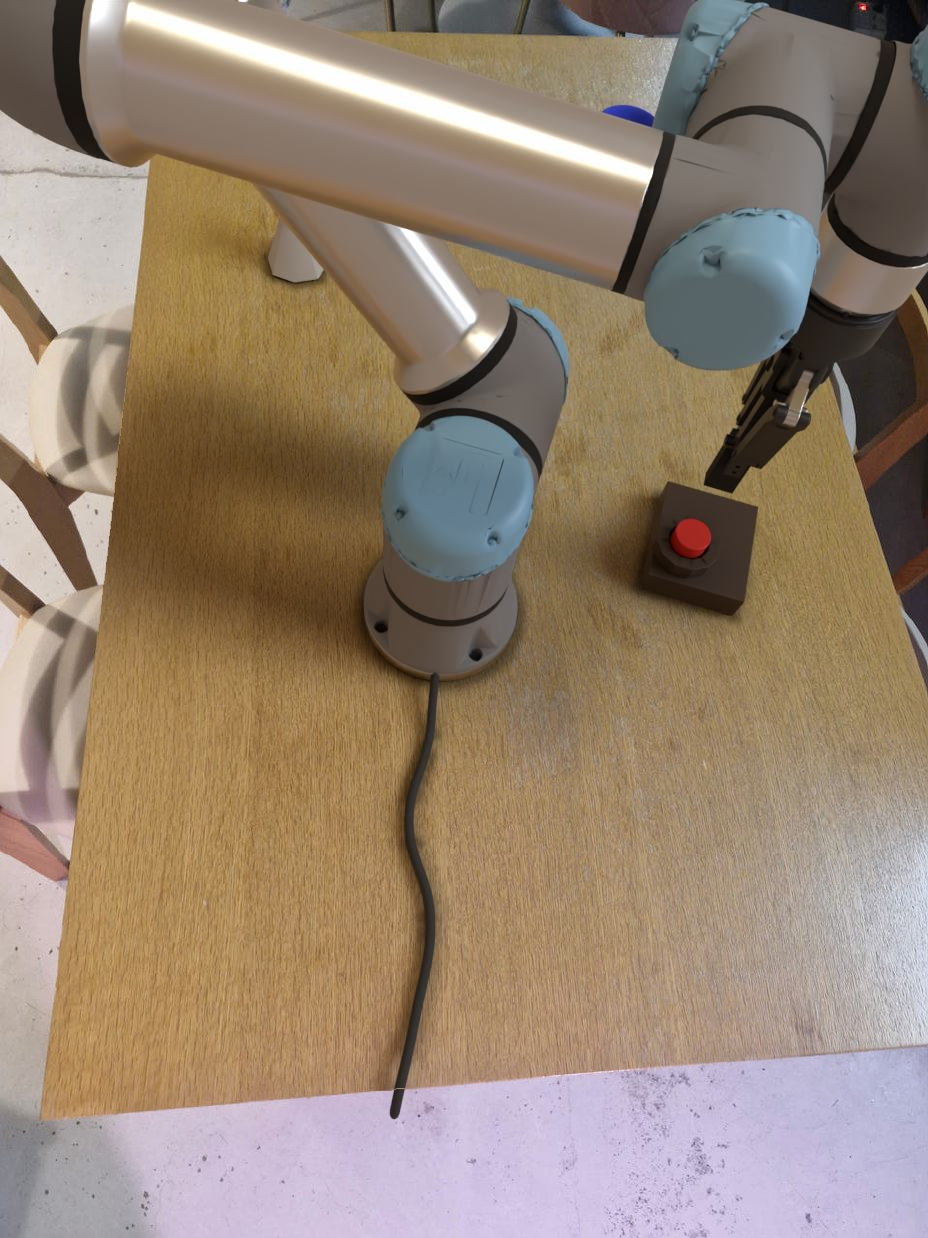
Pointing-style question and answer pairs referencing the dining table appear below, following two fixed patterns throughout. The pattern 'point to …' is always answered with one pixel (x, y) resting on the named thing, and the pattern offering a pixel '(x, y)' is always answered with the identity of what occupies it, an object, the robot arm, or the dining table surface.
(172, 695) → the dining table surface
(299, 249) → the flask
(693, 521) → the power button
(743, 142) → the robot arm
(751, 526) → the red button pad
